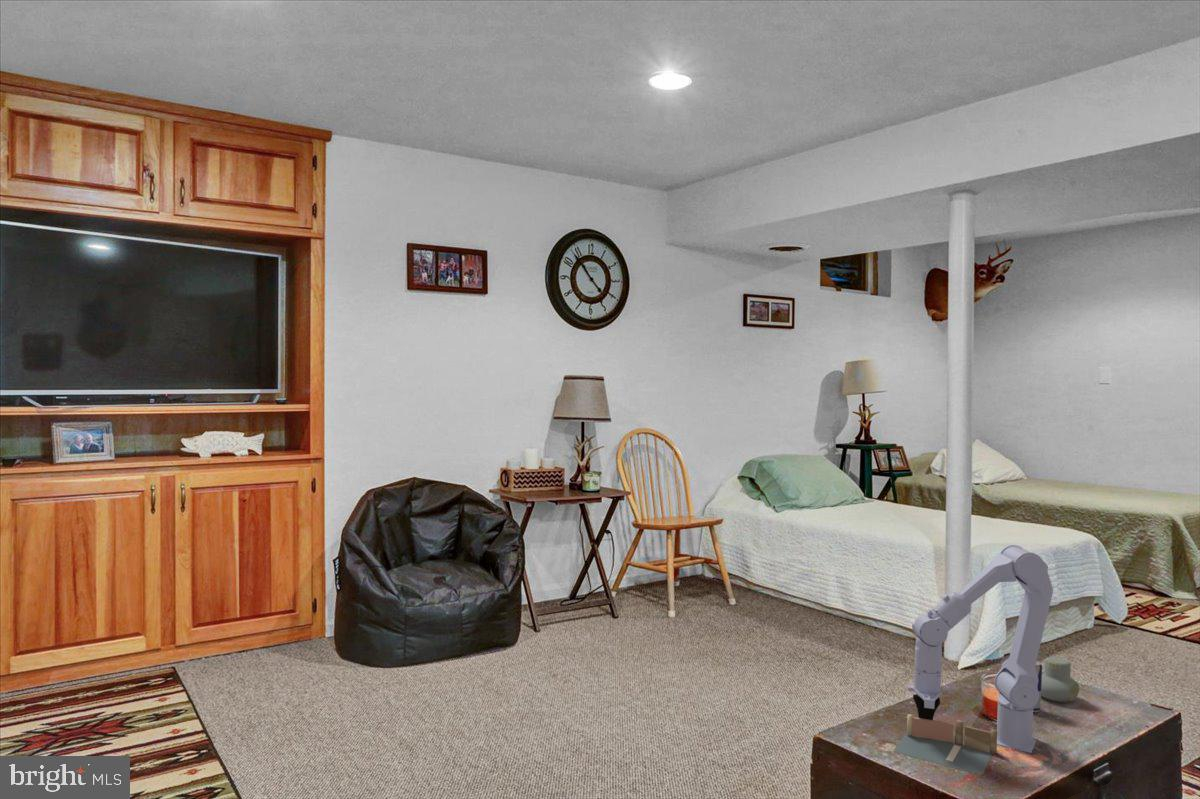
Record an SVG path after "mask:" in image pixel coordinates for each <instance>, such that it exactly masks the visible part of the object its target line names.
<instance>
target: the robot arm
mask: <svg viewBox="0 0 1200 799" xmlns="http://www.w3.org/2000/svg"><path fill="white" fill-rule="evenodd" d="M1048 569H1049V566H1048V564H1047V563H1046V562H1045V561H1044V559H1042V557H1041V556H1040V555H1038V554H1036V553H1034V552H1031V551H1029V550H1026V549H1025V548H1023V547H1022V546H1019V545H1016V544H1011V545H1010V544H1009V545H1007V546H1005V547H1003V548H1002V549H1001V551H1000V552H998V553H995V555H994V556H993V557H992V558H991V560H990V561H989V563H987V565H986V566H985V567H984V568H983V569H982V570H981V571H980V572H979V573H977V575H975V576H974V578H972V579H971V581H970V582H969V583H967V584H966V585H965V586H964V587H963V588H962V589H961V590H960V591H958V592H957V591H956V592H952V591H950V592H949V594H947V593H945V594H943V595H942V596H941V601H939V602H938V603H937V604H936V605H935V606H934V607H932V608H931V609H929V608H928V609H927V610H926V611H925V612H926V613H924V614H920V615H919V616H918V617H916V619H915V620H914V623H913V624H912V626H911V627H912V631H913V633H914V635H916V636H915V648H914V663H913V664H914V666H913V668H914V669H913V684H908V685H907V690H908V691H911V692H914V694H913V695H912V698H913V702H914V704H915V706H916V708H917V709H916V710H917V718H923V719H929V720H934V716H935V713H936V711H937V709H938V707H939V706H940V704H941V699H940V696H941V695H942V686H941V685H942V666H943V665H942V664H943V663H942V660H943V643H945V642H946V641H947V639H948V634H949V631H951V629H953V628H955V626H956V625H958V624H959V623H960V622H961V621H962V620H963V619H965V618H966V617H967V616H968V615H969V614H970V613H971V610H972V604H974V603H975V602H976V601H977V600H979V599H980V598H981V597H982V596H984V595H985V594H986V593H987V592H989V591H990V590H991V589H993V588H994V587H995V586H996V585H998V584H999V583H1009V582H1010V583H1011V582H1012V583H1015V582H1018V583H1019V584H1020V587H1022V589H1023V590H1024V595H1023V599H1022V603H1021V608H1020V612H1019V615H1018V620H1017V624H1016V628H1015V632H1014V635H1013V636H1014V637H1013V641H1012V644H1011V649H1010V653H1009V656H1008V658H1007V659H1005V660H1004V661H1003V663H1002V665H1001V668H1000V669H999V671H998V672H997V673H996V675H995V676H994V681H993V682H994V683H993V684H994V687H995V689H996V691H997V692H998V698H997V715H996V716H997V720H996V731H997V746H1000V747H1004V748H1008V749H1013V750H1017V751H1020V752H1024V753H1029V754H1031V753H1033V750H1034V747H1035V745H1036V742H1037V739H1038V738H1037V736H1036V737H1035V736H1033V727H1034V713H1033V707H1034V706H1035V705H1036V704H1037V703H1038V700H1039V692H1038V687H1037V686H1038V681H1039V680H1038V676H1037V673H1036V669H1035V665H1036V660H1037V661H1038V659H1037V658H1038V655H1039V651H1040V647H1041V643H1042V639H1043V635H1044V630H1045V626H1046V623H1047V619H1048V615H1049V610H1050V608H1051V607H1050V606H1051V601H1052V597H1053V593H1054V588H1053V585H1052V581H1051V578H1050V575H1049V571H1048Z"/></svg>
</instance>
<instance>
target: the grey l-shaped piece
mask: <svg viewBox="0 0 1200 799" xmlns="http://www.w3.org/2000/svg"><path fill="white" fill-rule="evenodd" d="M1071 664H1072V663H1071V661H1069V659H1066V658H1062V657H1057V656H1048V657H1046V658H1045V659H1044V671H1043V672H1042V685H1041V697H1043V698H1044V697H1045V699H1046V698H1047V699H1046V700H1049V699H1050V700H1049V701H1052V700H1054V701H1053V702H1056V701H1060V702H1059V703H1063V702H1067V703H1070V702H1073V701H1075V700H1076V699H1077V698H1078V695H1079V692H1080V684H1079V683H1078V682H1077V681H1076V680H1075V679H1074V678H1072V677H1071V669H1072V665H1071ZM1069 701H1070V702H1069Z"/></svg>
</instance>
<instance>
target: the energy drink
mask: <svg viewBox="0 0 1200 799" xmlns="http://www.w3.org/2000/svg"><path fill="white" fill-rule="evenodd" d="M1035 669H1036V673H1037V676H1038V680H1039V681H1038V686H1037V687H1038V692H1039V700H1038V703H1037V704H1036V705H1035V706H1034V707H1033V712H1037V711H1039V712H1041V708H1042V707H1041V706H1042V704H1041V703H1042V696H1041V685H1042V673H1043V665H1042V662H1041V661H1039V660H1038V659H1037V660H1036V665H1035Z"/></svg>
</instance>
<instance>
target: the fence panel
mask: <svg viewBox="0 0 1200 799" xmlns="http://www.w3.org/2000/svg"><path fill="white" fill-rule="evenodd" d="M906 716H907V717H906V718H907V721H906V733H907V735H910V736H918V737H923V738H929V739H935V740H941V741H947V742H953V739H954V730H955V729H954V727H955V726H954V723H952V722H946V721H942V720H934V719H933V720H929V719H923V718H919V717H918V716H916V717H915V716H914V715H913V714H911V713H908V714H907V715H906Z"/></svg>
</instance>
